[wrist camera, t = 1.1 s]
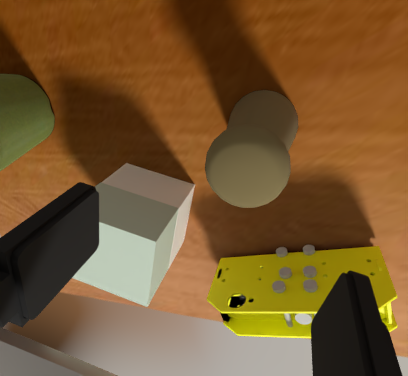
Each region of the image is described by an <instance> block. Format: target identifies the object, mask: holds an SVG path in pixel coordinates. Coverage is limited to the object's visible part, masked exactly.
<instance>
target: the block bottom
mask: <svg viewBox="0 0 408 376" xmlns="http://www.w3.org/2000/svg"><path fill="white" fill-rule="evenodd" d="M101 183H104V184H107V185H110V186H113V187H116V188H119V189H122V190H125V191H128V192H132V193H135V194H138V195H141V196H144V197H147V198H150V199H153V200H156V201H159V202H162V203H165V204H168V205H171V206H174V207H177V208H179V210H178V215H177V221H176V227H175V233H174V239H173V244H172V250H171V256H170V262H169V267H170V265H171V264H172V262H173V260H174V258H175V256H176V254H177V253H178V251H179V249H180V247H181V245H182V243H183V242H184V237H185V232H186V227H187V222H188V217H189V212H190V207H191V202H192V197H193V192H194V187H195V184H191V183H188V182H185V181H182V180H179V179H175V178H172V177H169V176H166V175H163V174H160V173H156V172H153V171H150V170H147V169H144V168H141V167H137V166H134V165H131V164H128V163H126V164H124V165H123V166H122V167H121V168H119V169H118V170H117V171H115V172H114V173H113V174H112V175H110V176H109V177H108V178H106V179H105V180H104V181H103V182H101ZM169 267H168V269H169Z"/></svg>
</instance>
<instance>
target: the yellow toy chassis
mask: <svg viewBox="0 0 408 376" xmlns="http://www.w3.org/2000/svg"><path fill="white" fill-rule="evenodd" d="M348 271H354V272H357V273H360V274H363V275H366V276H368V277H369V279H370V282H371V285H372V288H373V292H374V295H375V299H376V302H377V306H378V309H379V312H380V316H381V319H382V322H383V323H384V324H385V325H386V326H387V328H388V330H389V332H391V331H392V330H394V329H396V328H397V324H396V321H395V318H394V315H393V312H392V309H391V302H392V301H393V300H394V299H396V298H397V294H396V291H395V289H394V286H393V283H392V280H391V278H390V275H389V272H388V270H387V267H386V264H385V261H384V259H383V256H382V253H381V250H380V248H379V246H374V247H360V248H347V249H334V250H321V251H315V248H314V246H313V245H305V246H304V247H303V252H294V253H288V252H287V249H286V248H285V247H279V248H277V249H276V254H268V255H255V256H242V257H229V258H221V259H220V262H219V265H218V267H217V270H216V273H215V276H214V279H213V282H212V285H211V288H210V291H209V294H208V297H207V301H208V302H210V303H211V304H212V305H213V306H214V307H215V308H216V309H217V310H218V311H219V312H220V313H221V316H222V318H223V320H224V322H223V324H224V325H225V326H226V327H228V328H229V329H230V330H232V331H233V332H234V333H235V334H237V335H238V336H260V337H261V336H262V337H290V338H311V324H312V320H313V318H314V317H315V315H316V313H317V312H318V310H319V308H320V307H321V305H322V304H323V302H324V300H325V299H326V297H327V296H328V294H329V292H330V291H331V289H332V288H333V286H334V284H335V283H336V281H337V279H338V278H339V276H340V275H341V273H347V272H348Z"/></svg>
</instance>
